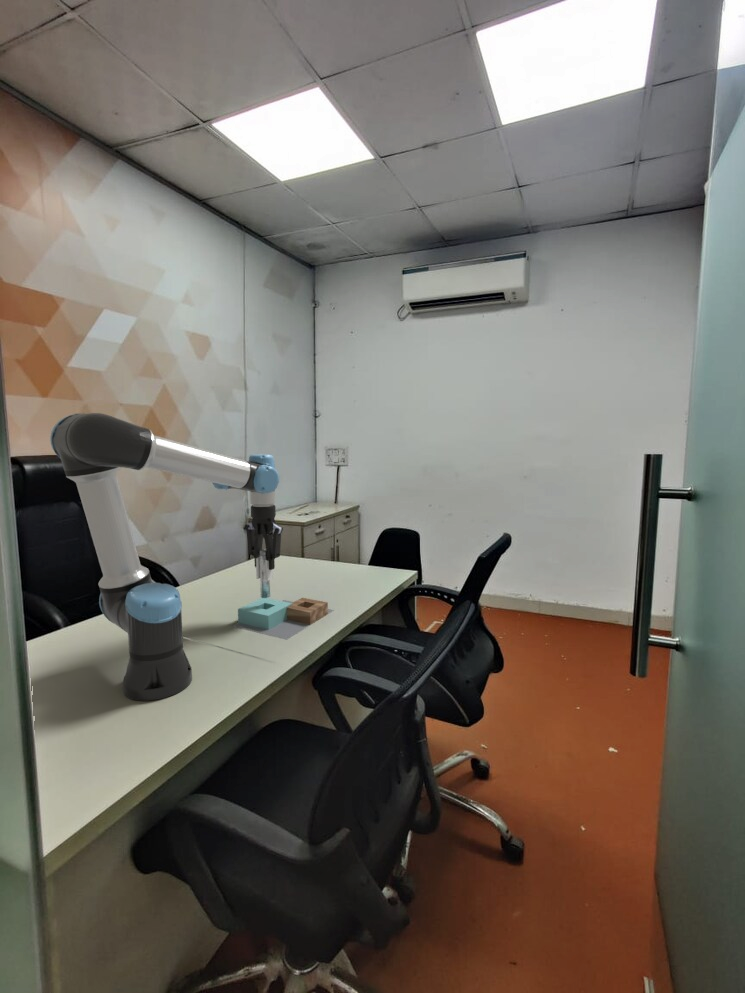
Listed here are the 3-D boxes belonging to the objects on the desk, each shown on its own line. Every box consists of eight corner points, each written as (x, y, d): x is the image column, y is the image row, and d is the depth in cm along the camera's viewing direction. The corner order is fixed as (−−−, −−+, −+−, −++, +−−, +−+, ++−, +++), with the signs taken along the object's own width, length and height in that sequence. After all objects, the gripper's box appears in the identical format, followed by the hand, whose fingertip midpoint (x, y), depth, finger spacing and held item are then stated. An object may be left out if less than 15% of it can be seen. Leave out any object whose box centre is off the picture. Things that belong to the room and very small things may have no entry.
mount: (310, 624, 149) (310, 612, 149) (284, 619, 154) (284, 607, 153) (327, 614, 158) (327, 602, 158) (302, 608, 163) (302, 597, 162)
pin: (266, 598, 151) (264, 551, 149) (258, 597, 152) (257, 550, 150) (272, 595, 153) (271, 549, 151) (264, 594, 155) (263, 548, 153)
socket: (268, 629, 146) (268, 615, 145) (238, 622, 151) (237, 609, 150) (292, 616, 156) (292, 603, 156) (263, 610, 162) (263, 597, 161)
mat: (286, 641, 139) (286, 639, 139) (231, 627, 148) (231, 625, 148) (334, 611, 162) (334, 610, 162) (283, 601, 171) (283, 599, 171)
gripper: (291, 505, 148) (292, 578, 151) (251, 501, 156) (253, 571, 159) (276, 508, 142) (277, 585, 145) (234, 504, 149) (237, 577, 152)
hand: (264, 578), depth 152 cm, fingers closed on pin, 3 cm apart
